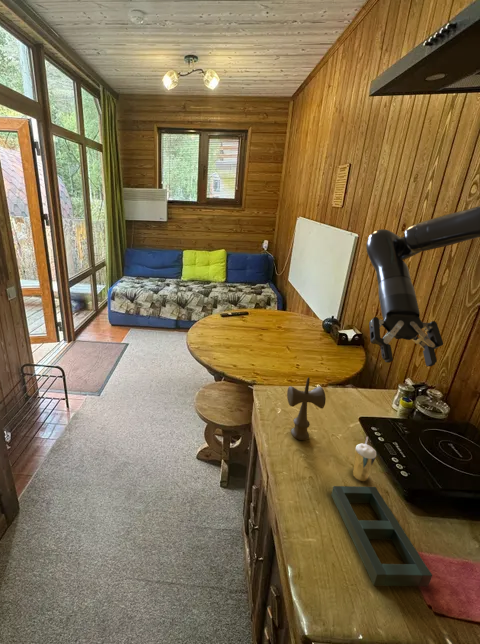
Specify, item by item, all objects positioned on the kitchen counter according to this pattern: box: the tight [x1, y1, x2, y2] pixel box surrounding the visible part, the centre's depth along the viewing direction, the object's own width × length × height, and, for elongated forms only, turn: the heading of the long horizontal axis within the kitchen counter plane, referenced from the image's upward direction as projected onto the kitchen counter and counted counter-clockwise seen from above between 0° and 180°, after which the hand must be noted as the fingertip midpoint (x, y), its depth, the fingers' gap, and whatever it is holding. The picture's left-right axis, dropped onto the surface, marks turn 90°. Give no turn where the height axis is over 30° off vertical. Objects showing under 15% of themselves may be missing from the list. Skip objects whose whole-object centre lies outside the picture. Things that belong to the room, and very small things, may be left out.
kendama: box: [286, 376, 327, 441], centre depth 89 cm, size 6×10×20 cm, turn 88°
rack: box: [330, 485, 433, 587], centre depth 64 cm, size 10×18×3 cm, turn 0°
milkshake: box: [352, 436, 377, 482], centre depth 78 cm, size 4×5×10 cm
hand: (409, 363), depth 68 cm, fingers open, 8 cm apart
